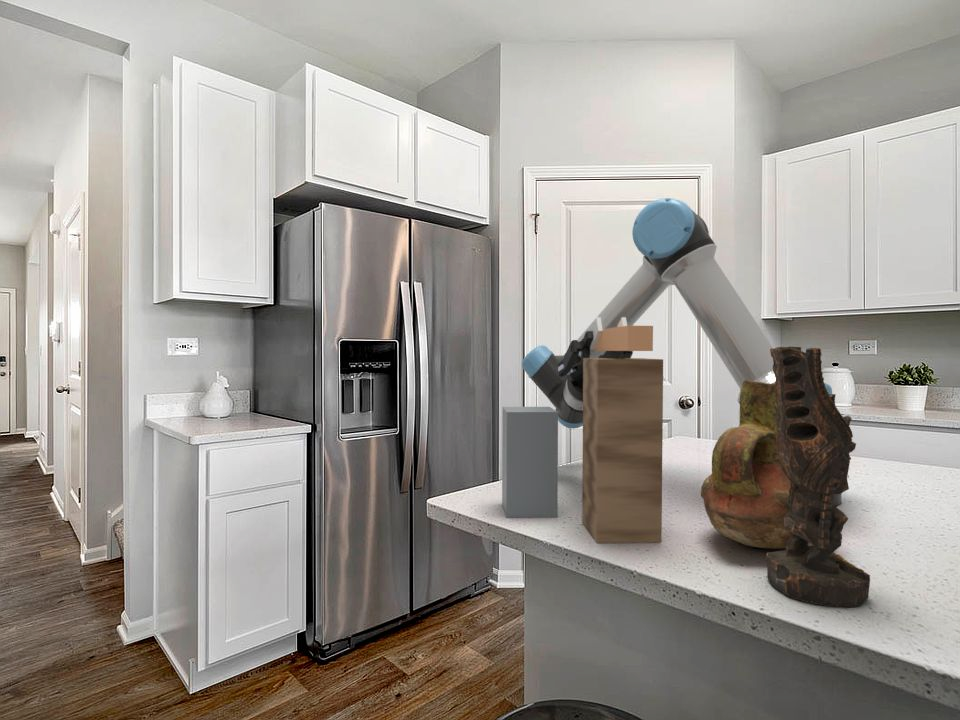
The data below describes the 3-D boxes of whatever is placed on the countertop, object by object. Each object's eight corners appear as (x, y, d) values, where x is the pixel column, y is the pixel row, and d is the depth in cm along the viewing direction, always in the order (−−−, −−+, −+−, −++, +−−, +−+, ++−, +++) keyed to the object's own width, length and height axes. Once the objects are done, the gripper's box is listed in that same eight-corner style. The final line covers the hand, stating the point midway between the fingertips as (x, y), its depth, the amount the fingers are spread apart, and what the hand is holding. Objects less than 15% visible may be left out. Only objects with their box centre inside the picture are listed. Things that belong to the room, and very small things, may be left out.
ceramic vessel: (856, 538, 89) (858, 378, 89) (792, 582, 72) (795, 385, 72) (745, 513, 102) (747, 374, 102) (669, 547, 85) (671, 379, 84)
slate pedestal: (502, 503, 108) (502, 406, 108) (549, 503, 109) (549, 406, 108) (506, 517, 99) (506, 412, 99) (557, 517, 100) (558, 412, 99)
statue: (882, 612, 64) (887, 346, 63) (782, 603, 66) (786, 346, 66) (843, 576, 74) (847, 346, 74) (757, 569, 76) (760, 346, 76)
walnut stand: (582, 522, 97) (583, 358, 96) (640, 522, 97) (641, 358, 96) (596, 543, 87) (598, 359, 86) (661, 542, 87) (663, 359, 86)
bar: (587, 350, 106) (587, 331, 106) (606, 350, 106) (606, 331, 106) (627, 350, 81) (628, 325, 81) (652, 351, 81) (653, 325, 81)
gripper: (627, 402, 115) (664, 343, 94) (545, 402, 114) (565, 343, 94) (622, 369, 119) (657, 305, 98) (542, 369, 118) (561, 305, 97)
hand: (612, 324), depth 96 cm, fingers closed on bar, 4 cm apart
